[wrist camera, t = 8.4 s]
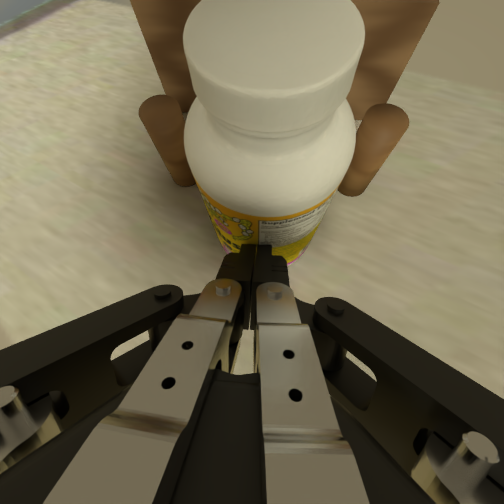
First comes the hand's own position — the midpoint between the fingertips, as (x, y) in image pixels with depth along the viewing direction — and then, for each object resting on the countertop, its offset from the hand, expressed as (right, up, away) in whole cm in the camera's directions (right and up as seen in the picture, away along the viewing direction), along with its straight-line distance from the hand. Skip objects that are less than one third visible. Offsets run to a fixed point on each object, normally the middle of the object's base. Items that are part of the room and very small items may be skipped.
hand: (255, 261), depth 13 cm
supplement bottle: (+1, +2, +6) cm, 6 cm away
